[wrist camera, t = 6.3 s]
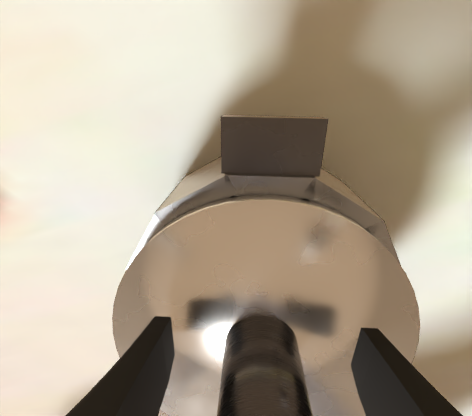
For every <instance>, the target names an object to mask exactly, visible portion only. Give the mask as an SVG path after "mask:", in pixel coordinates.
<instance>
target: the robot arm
mask: <svg viewBox="0 0 472 416" xmlns="http://www.w3.org/2000/svg"><path fill="white" fill-rule="evenodd" d="M174 356H175V350H174V341H173V332H172V322H171V317H163V316H155V317H154V318H153V319H152V320H151V321H150V322H149V324H148V325H147V326H146V328H145V329H144V330H143V331H142V333H141V334H140V335H139V336H138V338H137V339H136V340H135V341H134V342H133V344H132V345H131V346H130V347H129V348H128V350H127V351H126V352H125V353H124V354H123V355H122V357H121V358H120V359H119V360H118V361H117V362H116V363H115V365H114V366H113V367H112V368H111V369H110V370H109V371H108V373H107V374H106V375H105V376H104V377H103V378H102V379H101V380H100V381H99V382H98V383H97V384H96V385H95V386H94V387H93V388H92V390H91V391H90V392H89V393H88V394H87V395H86V396H85V397H84V398H83V399H82V400H81V401H80V402H79V403H78V404H77V405H76V406H75V407H74V408H73V409H72V410H71V411H70V412H69V413H68V414H67V415H66V416H158V413H159V410H160V407H161V404H162V401H163V398H164V395H165V392H166V389H167V386H168V383H169V378H170V374H171V370H172V365H173V361H174ZM351 369H352V373H353V377H354V380H355V384H356V388H357V391H358V395H359V398H360V401H361V404H362V406H363V409H364V412H365V414H366V416H463V415H462V414H460V413H459V412H458V411H457V410H456V409H455V408H454V407H453V406H452V405H451V404H450V403H449V402H448V401H447V400H446V399H445V398H444V397H443V396H442V395H441V394H440V393H439V392H438V391H437V390H436V389H435V388H434V387H433V386H432V385H431V384H430V383H429V382H428V381H427V380H426V379H425V378H424V377H423V376H422V375H421V374H420V373H419V372H418V371H417V370H416V369H415V368H414V366H413V365H412V364H411V363H410V362H409V361H408V360H407V359H406V358H405V357H404V356H403V355H402V354H401V353H400V352H399V351H398V349H397V348H396V347H395V346H394V345H393V344H392V343H391V342H390V341H389V340H388V339H387V338H386V337H385V335H384V334H383V333H382V332H381V331H380V330H379V329H378V328H361V330H360V333H359V337H358V340H357V344H356V347H355V351H354V355H353V358H352V362H351Z"/></svg>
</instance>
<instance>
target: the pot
mask: <svg viewBox="0 0 472 416" xmlns="http://www.w3.org/2000/svg"><path fill="white" fill-rule="evenodd" d="M327 124H328V119H327V118H324V117H295V116H250V115H223V116H221V157H219V158H218V159H216V160H214V161H212V162H210V163H208V164H207V165H205V166H203V167H201V168H199V169H198V170H196V171H194V172H192V173H190V174H189V175H187V176H185V177H184V178H183V179H182V180H181V181H180V183H179V184H178V185H177V186H176V188H175V189H174V190H173V191H172V192H171V194H170V195H169V196H168V197H167V198H166V200H165V201H164V202H163V203H162V204H161V206H160V207H159V208H158V209H157V210H156V212H155V214H154V216H153V218H152V220H151V222H150V224H149V226H148V227H147V229H146V231H145V233H144V235H143V237H142V239H141V241H140V243H139V245H138V247H137V249H136V250H135V252H134V254H133V256H132V258H131V260H130V262H129V264H128V266H127V267H126V270H127V268H128V267H129V265H130V264H131V262H132V261H133V260H134V258H135V257H136V255H137V254H138V253H139V252H140V251H141V249H142V248H143V247H144V246H145V245H146V244H147V243H148V242H149V241H150V239H151V238H152V237H153V236H154V235H155V234H156V233H157V232H158V231H160V230H161V229H162V228H164V227H165V226H166V225H167V224H169V223H170V222H171V221H173V220H174V219H176V218H178V217H180V216H181V215H183V214H185V213H186V212H188V211H190V210H193V209H195V208H198V207H200V206H202V205H205V204H207V203H210V202H214V201H218V200H222V199H226V198H230V197H237V196H245V195H280V196H289V197H296V198H300V199H304V200H308V201H312V202H316V203H318V204H321V205H323V206H326V207H328V208H331V209H333V210H336V211H338V212H340V213H341V214H343V215H345V216H347V217H348V218H350V219H352V220H354V221H355V222H357V223H358V224H359V225H360V226H362V227H363V228H364V229H366V230H367V231H368V232H370V233H371V234H372V235H373V236H374V237H375V238H376V239H377V240H378V241H379V242H380V243H381V244H382V245H383V246H384V247H385V248H386V249H387V250H388V251H389V252H390V253H391V254H392V255H393V256H394V257H395V258H396V260H397V261H398V263H399V264H400V262H399V259H398V257H397V254H396V251H395V249H394V246H393V244H392V241H391V238H390V236H389V233H388V230H387V228H386V225H385V221H384V220H383V219H382V218H381V217H380V216H378V215H377V214H376V213H375V212H374V211H373V210H372V209H371V208H370V207H369V206H368V205H367V204H366V203H365V202H364V201H363V200H361V199H360V198H359V197H358V196H357V195H356V194H355V193H354V192H353V191H352V190H351V189H350V188H349V187H348V186H347V185H346V184H344V183H343V182H342V181H340V180H339V179H337V178H336V177H334V176H333V175H331V174H329V173H328V172H326V171H325V170H323V169H322V168H321V164H322V157H323V151H324V144H325V137H326V131H327ZM400 266H401V265H400Z"/></svg>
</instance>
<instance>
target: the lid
mask: <svg viewBox="0 0 472 416" xmlns="http://www.w3.org/2000/svg"><path fill="white" fill-rule="evenodd" d="M155 316H163V317H171V322H172V332H173V341H174V350H175V356H174V361H173V365H172V370H171V374H170V378H169V383H168V386H167V389H166V392H165V395H164V398H163V401H162V404H161V407H160V410H161V411H163V412H164V413H165V414H167V415H168V416H366V414H365V412H364V409H363V406H362V404H361V401H360V398H359V395H358V391H357V388H356V384H355V380H354V377H353V373H352V369H351V362H352V358H353V355H354V351H355V347H356V344H357V340H358V337H359V333H360V330H361V328H378V329H379V330H380V331H381V332H382V333H383V334H384V335H385V337H386V338H387V339H388V340H389V341H390V342H391V343H392V344H393V345H394V346H395V347H396V348H397V349H398V351H399V352H400V353H401V354H402V355H403V356H404V357H405V358H406V359H407V360H408V361H409V362H410V363H411V364H412V362H413V359H414V357H415V353H416V349H417V345H418V341H419V330H420V319H419V308H418V304H417V300H416V297H415V293H414V290H413V288H412V285H411V283H410V281H409V279H408V277H407V275H406V273H405V271H404V270H403V269H402V267H401V266H400V264H399V263H398V261H397V260H396V258H395V257H394V256H393V255H392V254H391V253H390V252H389V251H388V250H387V249H386V248H385V247H384V246H383V245H382V244H381V243H380V242H379V241H378V240H377V239H376V238H375V237H374V236H373V235H372V234H371V233H370V232H368V231H367V230H366V229H364V228H363V227H362V226H360V225H359V224H358V223H357V222H355V221H354V220H352V219H350V218H348V217H347V216H345V215H343V214H341V213H340V212H338V211H336V210H333V209H331V208H328V207H326V206H323V205H321V204H318V203H316V202H312V201H308V200H304V199H300V198H296V197H289V196H280V195H245V196H237V197H230V198H226V199H222V200H218V201H214V202H210V203H207V204H205V205H202V206H200V207H198V208H195V209H193V210H190V211H188V212H186V213H185V214H183V215H181V216H180V217H178V218H176V219H174V220H173V221H171V222H170V223H169V224H167V225H166V226H165V227H164V228H162V229H161V230H160V231H158V232H157V233H156V234H155V235H154V236H153V237H152V238H151V239H150V241H149V242H148V243H147V244H146V245H145V246H144V247H143V248H142V249H141V251H140V252H139V253H138V254H137V255H136V257H135V258H134V260H133V261H132V262H131V264H130V265H129V267H128V268H127V270H126V272H125V274H124V276H123V278H122V280H121V282H120V284H119V287H118V290H117V294H116V297H115V301H114V308H113V317H112V320H113V335H114V340H115V344H116V349H117V351H118V354H119V357H120V358H121V357H122V355H123V354H124V353H125V352H126V351H127V350H128V348H129V347H130V346H131V345H132V344H133V342H134V341H135V340H136V339H137V338H138V336H139V335H140V334H141V333H142V331H143V330H144V329H145V328H146V326H147V325H148V324H149V322H150V321H151V320H152V319H153V318H154V317H155Z"/></svg>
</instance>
